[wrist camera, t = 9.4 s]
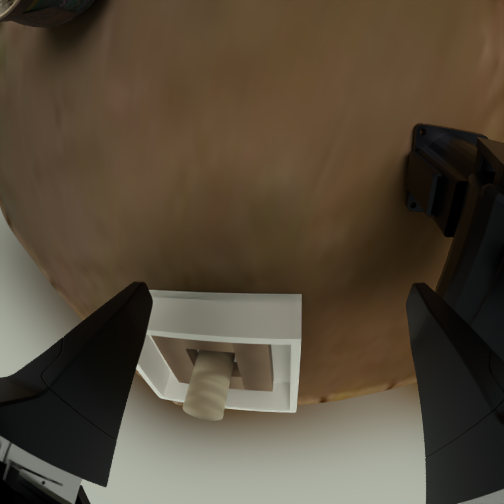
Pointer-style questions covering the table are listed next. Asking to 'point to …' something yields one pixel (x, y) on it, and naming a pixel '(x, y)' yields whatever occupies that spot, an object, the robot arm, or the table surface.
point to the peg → (209, 385)
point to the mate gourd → (42, 11)
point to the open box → (228, 340)
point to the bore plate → (247, 355)
